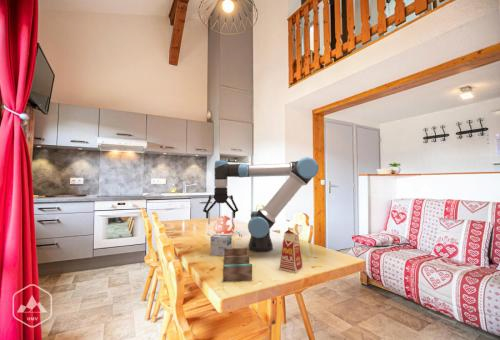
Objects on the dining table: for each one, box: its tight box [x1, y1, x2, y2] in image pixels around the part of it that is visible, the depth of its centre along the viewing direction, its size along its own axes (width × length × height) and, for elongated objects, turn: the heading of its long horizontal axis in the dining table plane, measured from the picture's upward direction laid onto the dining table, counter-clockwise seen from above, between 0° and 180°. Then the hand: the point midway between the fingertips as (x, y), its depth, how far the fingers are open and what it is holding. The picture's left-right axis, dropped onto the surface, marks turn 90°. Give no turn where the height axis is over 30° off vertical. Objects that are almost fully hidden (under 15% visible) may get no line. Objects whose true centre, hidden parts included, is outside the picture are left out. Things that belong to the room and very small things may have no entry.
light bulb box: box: [210, 233, 233, 257], centre depth 142 cm, size 11×7×11 cm, turn 71°
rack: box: [223, 247, 253, 283], centre depth 118 cm, size 12×28×7 cm, turn 5°
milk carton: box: [278, 226, 304, 274], centre depth 119 cm, size 9×9×20 cm
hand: (220, 223), depth 143 cm, fingers open, 13 cm apart
